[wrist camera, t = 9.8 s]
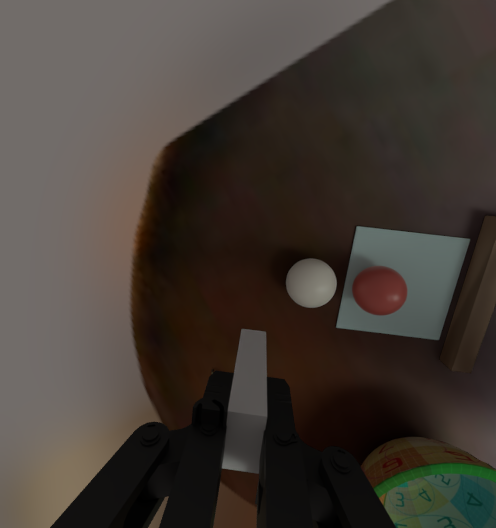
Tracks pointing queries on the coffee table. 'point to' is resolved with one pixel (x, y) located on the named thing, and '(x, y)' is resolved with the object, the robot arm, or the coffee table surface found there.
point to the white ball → (311, 283)
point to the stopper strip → (473, 303)
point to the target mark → (415, 275)
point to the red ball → (379, 290)
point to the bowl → (432, 484)
